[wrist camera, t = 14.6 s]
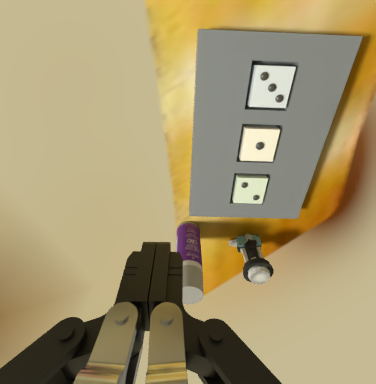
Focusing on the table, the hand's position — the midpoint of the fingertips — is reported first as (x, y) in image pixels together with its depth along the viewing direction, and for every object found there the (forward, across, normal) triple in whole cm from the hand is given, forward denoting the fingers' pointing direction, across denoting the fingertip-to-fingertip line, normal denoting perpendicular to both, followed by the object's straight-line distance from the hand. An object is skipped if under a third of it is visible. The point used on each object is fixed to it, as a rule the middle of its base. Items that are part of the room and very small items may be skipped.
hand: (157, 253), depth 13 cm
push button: (+28, -15, +24) cm, 39 cm away
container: (+28, -3, +22) cm, 35 cm away
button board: (+27, -13, +2) cm, 30 cm away
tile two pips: (+26, -13, +10) cm, 31 cm away
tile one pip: (+26, -13, +2) cm, 29 cm away
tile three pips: (+26, -13, -6) cm, 30 cm away
